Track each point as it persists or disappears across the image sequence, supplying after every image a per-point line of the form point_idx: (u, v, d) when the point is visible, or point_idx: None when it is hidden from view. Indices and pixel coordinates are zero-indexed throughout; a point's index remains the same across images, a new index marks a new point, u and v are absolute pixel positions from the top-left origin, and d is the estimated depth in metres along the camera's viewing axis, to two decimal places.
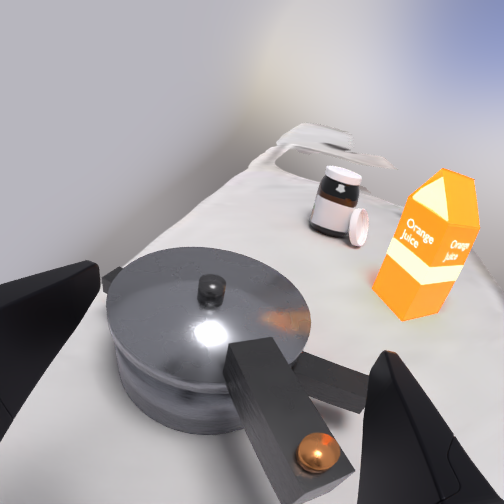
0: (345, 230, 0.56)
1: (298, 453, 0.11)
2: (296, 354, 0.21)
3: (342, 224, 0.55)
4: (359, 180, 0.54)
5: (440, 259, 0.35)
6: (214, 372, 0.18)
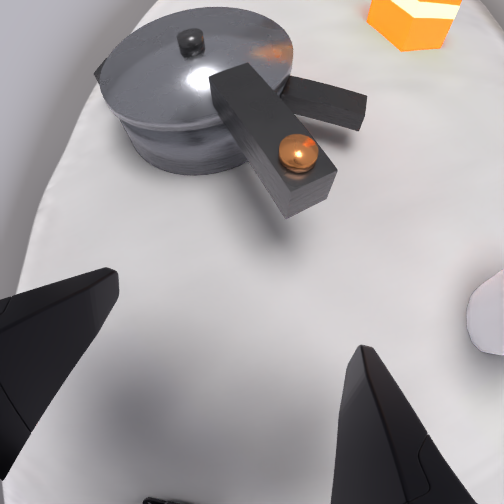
0: None
1: (279, 154, 0.14)
2: (281, 77, 0.20)
3: None
4: None
5: None
6: (205, 107, 0.19)
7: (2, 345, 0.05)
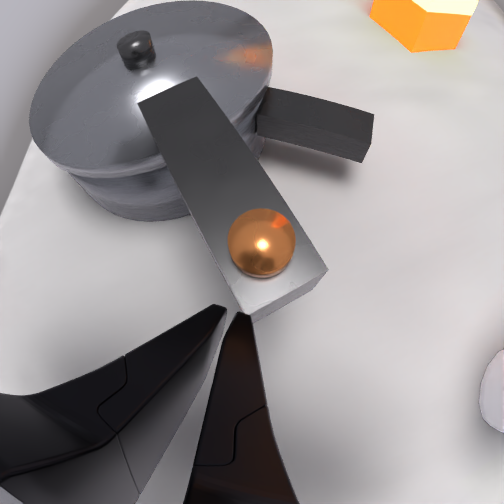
0: None
1: (228, 249, 0.09)
2: (253, 92, 0.14)
3: None
4: None
5: None
6: (144, 143, 0.14)
7: (138, 424, 0.05)
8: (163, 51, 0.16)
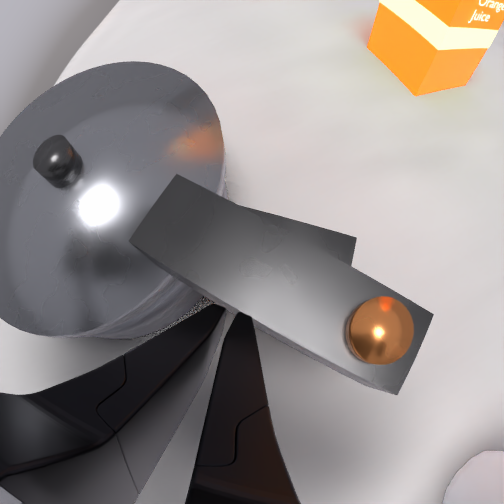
0: None
1: (358, 355, 0.08)
2: (221, 153, 0.13)
3: None
4: None
5: (464, 18, 0.15)
6: (145, 271, 0.12)
7: (137, 424, 0.05)
8: (86, 148, 0.14)
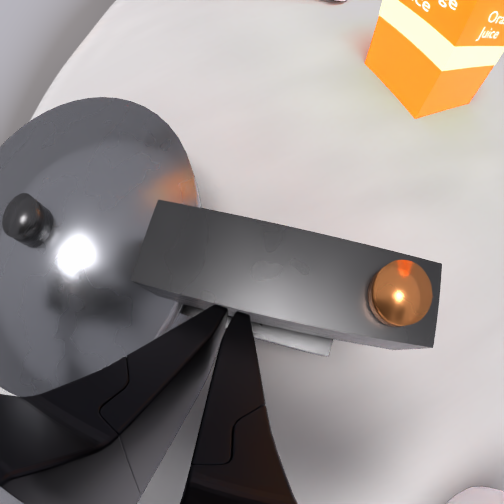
0: None
1: (389, 322, 0.08)
2: (189, 169, 0.13)
3: None
4: None
5: (471, 36, 0.14)
6: (150, 306, 0.11)
7: (140, 425, 0.05)
8: (52, 200, 0.13)
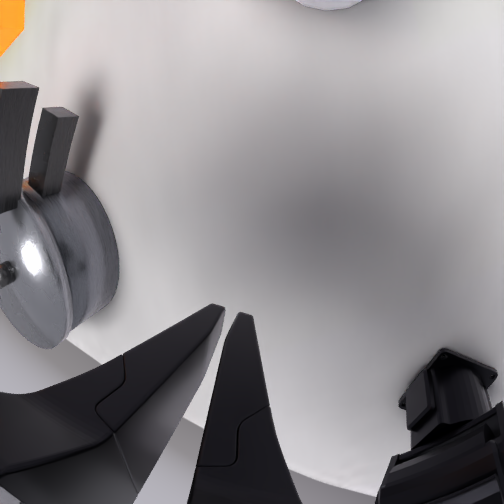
0: None
1: None
2: None
3: None
4: None
5: None
6: (19, 212, 0.19)
7: (135, 423, 0.05)
8: (2, 260, 0.22)
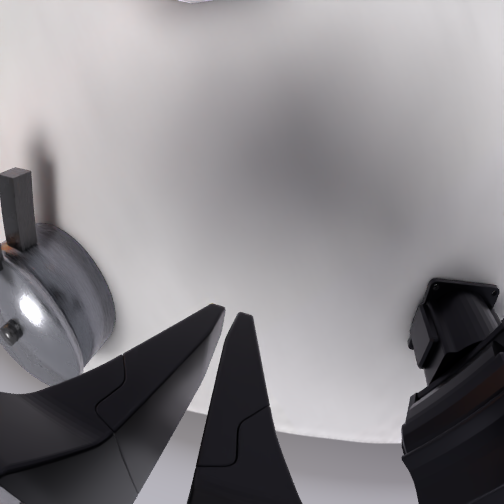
0: None
1: None
2: None
3: None
4: None
5: None
6: (6, 272, 0.20)
7: (135, 423, 0.05)
8: (6, 320, 0.23)
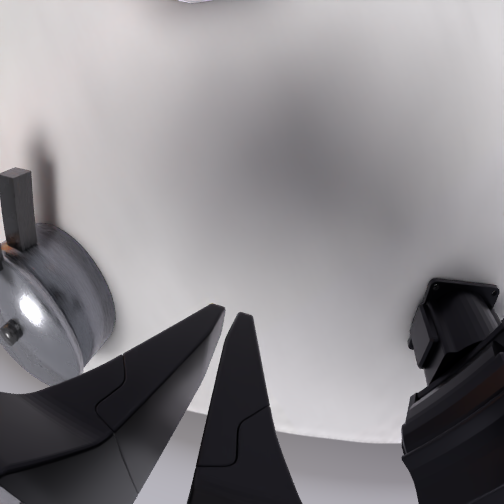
0: None
1: None
2: None
3: None
4: None
5: None
6: (6, 272, 0.20)
7: (135, 423, 0.05)
8: (6, 320, 0.23)
